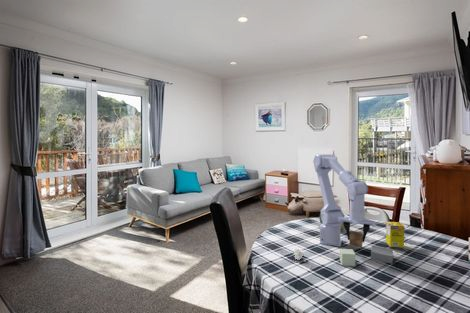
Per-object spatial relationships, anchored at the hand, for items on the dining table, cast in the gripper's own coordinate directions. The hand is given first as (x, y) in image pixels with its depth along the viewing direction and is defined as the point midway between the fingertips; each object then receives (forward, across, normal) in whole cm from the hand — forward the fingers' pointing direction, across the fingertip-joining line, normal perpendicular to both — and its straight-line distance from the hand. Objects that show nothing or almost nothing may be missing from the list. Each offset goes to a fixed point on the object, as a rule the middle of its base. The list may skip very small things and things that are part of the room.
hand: (356, 240), depth 117 cm
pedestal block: (+8, +10, +3) cm, 13 cm away
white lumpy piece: (+8, -20, -11) cm, 24 cm away
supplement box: (+7, +16, +19) cm, 26 cm away
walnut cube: (+2, 0, 0) cm, 2 cm away
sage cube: (+7, -3, -8) cm, 11 cm away
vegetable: (+8, -14, +35) cm, 38 cm away
